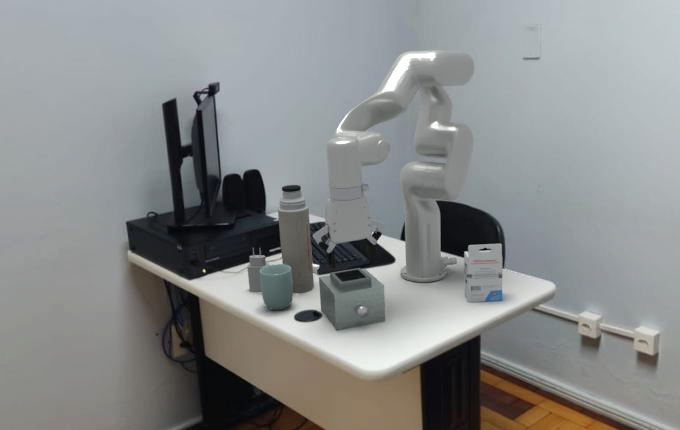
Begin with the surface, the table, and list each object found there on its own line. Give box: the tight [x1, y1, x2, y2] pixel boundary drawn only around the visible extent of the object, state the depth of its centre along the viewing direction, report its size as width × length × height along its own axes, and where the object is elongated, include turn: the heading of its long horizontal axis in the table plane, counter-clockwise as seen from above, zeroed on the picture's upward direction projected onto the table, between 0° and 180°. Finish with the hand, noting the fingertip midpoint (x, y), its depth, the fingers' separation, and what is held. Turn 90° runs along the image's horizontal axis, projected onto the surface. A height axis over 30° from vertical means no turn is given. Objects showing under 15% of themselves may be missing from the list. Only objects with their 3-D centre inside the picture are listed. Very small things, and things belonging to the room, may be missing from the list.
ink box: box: [463, 243, 503, 303], centre depth 152 cm, size 8×5×15 cm, turn 90°
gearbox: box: [318, 267, 386, 331], centre depth 146 cm, size 12×14×10 cm
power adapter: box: [247, 247, 270, 293], centre depth 165 cm, size 3×5×12 cm, turn 80°
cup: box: [260, 263, 294, 311], centre depth 154 cm, size 8×8×10 cm
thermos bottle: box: [277, 184, 315, 294], centre depth 163 cm, size 8×8×28 cm
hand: (351, 263), depth 145 cm, fingers open, 9 cm apart
